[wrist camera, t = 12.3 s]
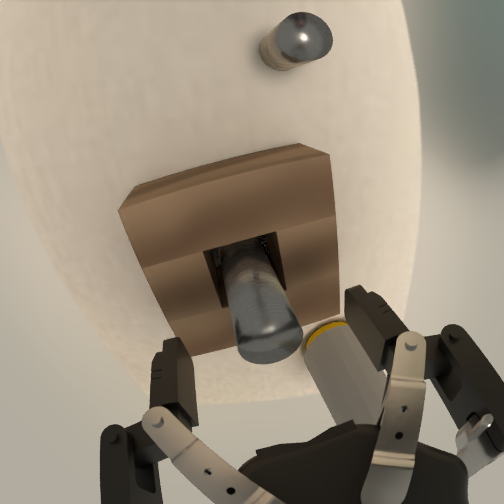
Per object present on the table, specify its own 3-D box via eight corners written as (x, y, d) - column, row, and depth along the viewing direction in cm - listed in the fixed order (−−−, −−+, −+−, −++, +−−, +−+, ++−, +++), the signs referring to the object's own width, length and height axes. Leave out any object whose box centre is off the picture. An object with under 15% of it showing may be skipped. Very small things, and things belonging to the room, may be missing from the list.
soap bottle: (324, 367, 32) (383, 493, 17) (287, 349, 29) (347, 504, 13) (367, 330, 30) (446, 454, 15) (334, 306, 27) (428, 461, 12)
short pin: (255, 35, 15) (274, 13, 11) (296, 31, 15) (326, 12, 11) (264, 73, 16) (286, 62, 12) (305, 68, 17) (337, 58, 12)
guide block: (134, 186, 18) (117, 210, 14) (299, 143, 19) (329, 154, 15) (186, 315, 24) (187, 357, 20) (316, 278, 25) (339, 313, 21)
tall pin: (211, 225, 21) (230, 329, 11) (251, 214, 21) (300, 308, 12) (221, 259, 22) (245, 370, 13) (258, 249, 23) (305, 352, 13)
